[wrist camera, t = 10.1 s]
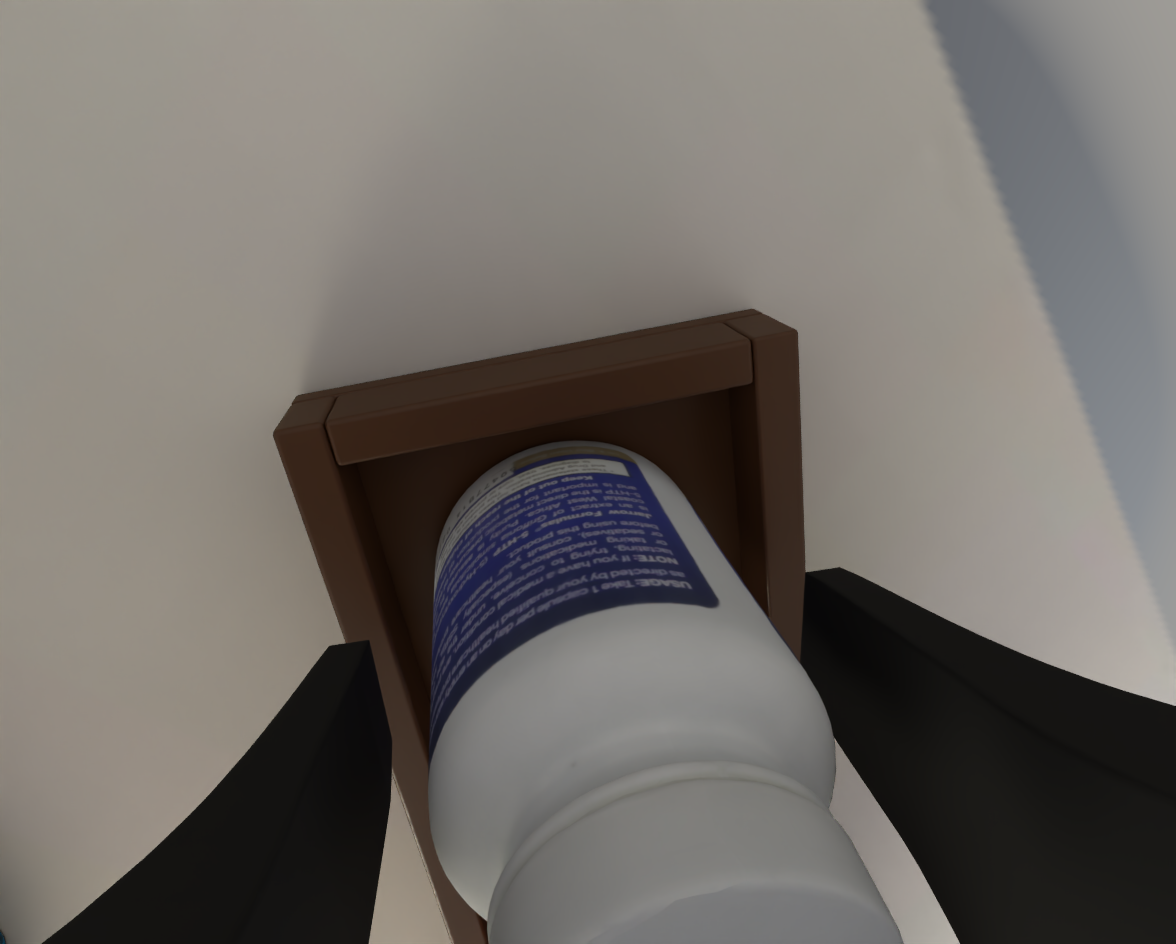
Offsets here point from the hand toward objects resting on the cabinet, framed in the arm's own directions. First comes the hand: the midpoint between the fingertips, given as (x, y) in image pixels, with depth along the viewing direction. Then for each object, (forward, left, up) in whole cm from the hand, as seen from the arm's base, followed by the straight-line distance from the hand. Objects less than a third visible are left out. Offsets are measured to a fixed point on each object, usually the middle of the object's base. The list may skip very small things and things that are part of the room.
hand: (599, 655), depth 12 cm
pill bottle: (0, 0, -3) cm, 3 cm away
